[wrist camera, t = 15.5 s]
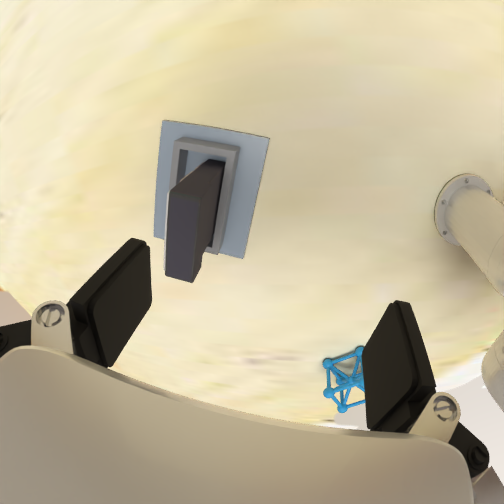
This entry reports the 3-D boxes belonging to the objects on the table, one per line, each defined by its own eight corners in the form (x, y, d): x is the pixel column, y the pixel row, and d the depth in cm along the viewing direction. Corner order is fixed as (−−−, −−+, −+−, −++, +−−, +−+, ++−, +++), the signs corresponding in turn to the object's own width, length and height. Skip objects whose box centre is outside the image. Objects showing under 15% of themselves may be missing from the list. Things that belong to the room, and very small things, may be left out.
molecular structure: (338, 380, 64) (339, 415, 55) (320, 358, 60) (321, 396, 52) (376, 367, 60) (382, 402, 52) (363, 342, 57) (369, 380, 48)
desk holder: (269, 138, 40) (266, 143, 36) (243, 256, 50) (239, 271, 46) (164, 120, 40) (151, 123, 36) (155, 234, 50) (144, 247, 46)
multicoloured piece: (204, 157, 41) (161, 189, 29) (232, 162, 41) (201, 197, 28) (195, 222, 47) (158, 275, 34) (221, 228, 47) (192, 284, 34)
